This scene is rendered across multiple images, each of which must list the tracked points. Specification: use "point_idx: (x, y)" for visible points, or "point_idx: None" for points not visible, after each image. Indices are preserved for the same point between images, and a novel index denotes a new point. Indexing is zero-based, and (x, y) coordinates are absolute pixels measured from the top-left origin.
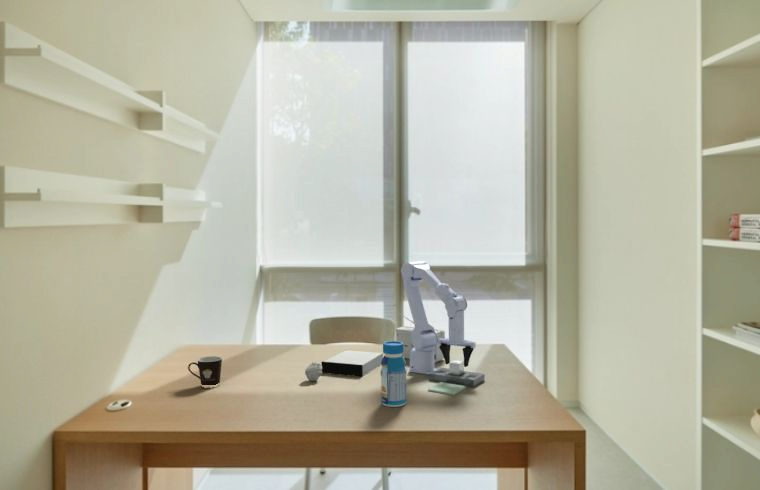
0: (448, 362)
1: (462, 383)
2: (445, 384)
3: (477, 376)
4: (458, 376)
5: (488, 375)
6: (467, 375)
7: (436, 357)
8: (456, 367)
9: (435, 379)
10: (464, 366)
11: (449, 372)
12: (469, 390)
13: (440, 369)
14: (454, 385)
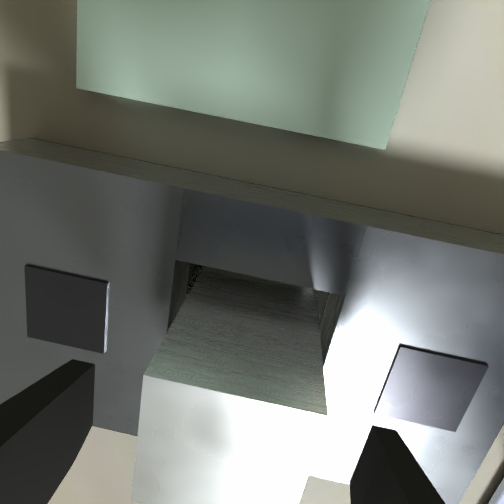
0: (361, 475)
1: (139, 164)
2: (313, 71)
3: (13, 311)
4: (193, 253)
5: (68, 484)
6: (117, 318)
7: None
8: (208, 343)
9: (466, 232)
10: (89, 365)
11: (318, 321)
12: (19, 5)
13: (454, 453)
14: (201, 68)
